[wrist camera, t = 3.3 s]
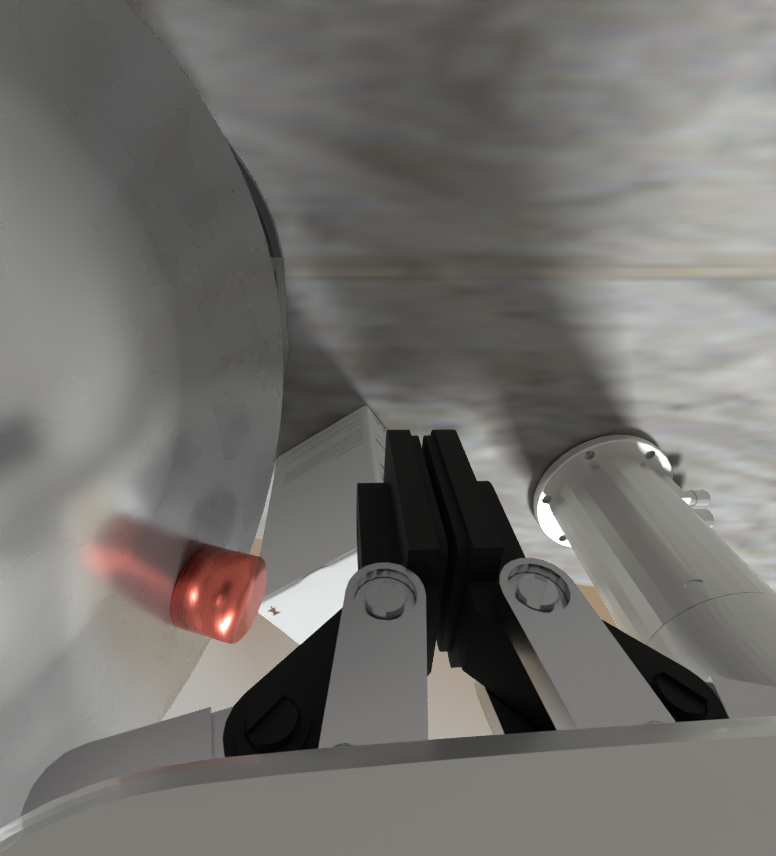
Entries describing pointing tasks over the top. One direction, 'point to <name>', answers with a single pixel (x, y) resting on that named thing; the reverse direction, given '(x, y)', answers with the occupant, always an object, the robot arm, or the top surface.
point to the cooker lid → (121, 383)
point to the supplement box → (317, 522)
